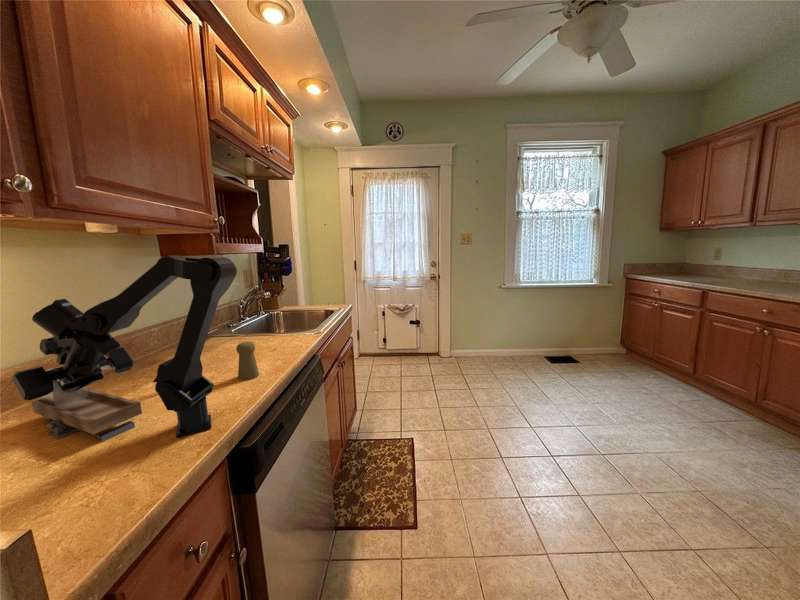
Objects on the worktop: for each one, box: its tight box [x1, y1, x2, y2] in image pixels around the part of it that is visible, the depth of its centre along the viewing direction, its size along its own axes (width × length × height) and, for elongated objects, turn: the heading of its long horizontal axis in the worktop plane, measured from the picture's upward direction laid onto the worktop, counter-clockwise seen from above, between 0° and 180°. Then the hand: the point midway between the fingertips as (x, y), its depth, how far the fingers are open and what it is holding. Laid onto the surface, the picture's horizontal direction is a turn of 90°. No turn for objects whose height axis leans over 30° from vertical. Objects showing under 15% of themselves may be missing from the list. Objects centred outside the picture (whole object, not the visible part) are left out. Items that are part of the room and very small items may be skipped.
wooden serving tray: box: [31, 388, 143, 435], centre depth 74 cm, size 26×9×3 cm, turn 67°
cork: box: [236, 341, 260, 381], centre depth 99 cm, size 6×6×11 cm
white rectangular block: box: [41, 365, 89, 408], centre depth 76 cm, size 6×6×8 cm
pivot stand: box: [44, 416, 136, 443], centre depth 74 cm, size 25×13×3 cm, turn 67°
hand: (71, 390), depth 75 cm, fingers closed
